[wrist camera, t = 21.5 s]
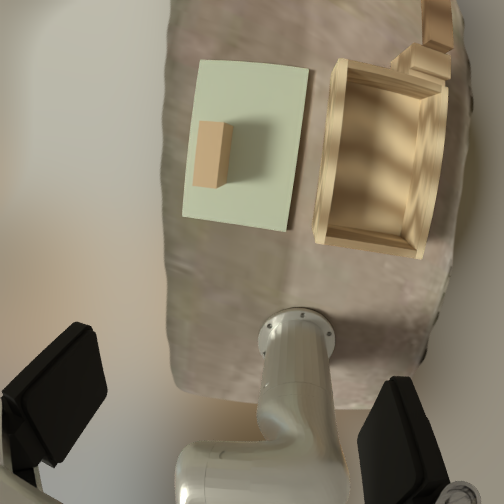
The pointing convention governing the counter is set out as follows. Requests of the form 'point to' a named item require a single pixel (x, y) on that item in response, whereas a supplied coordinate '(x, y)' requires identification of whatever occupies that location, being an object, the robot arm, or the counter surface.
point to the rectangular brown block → (437, 25)
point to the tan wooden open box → (383, 153)
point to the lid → (244, 143)
